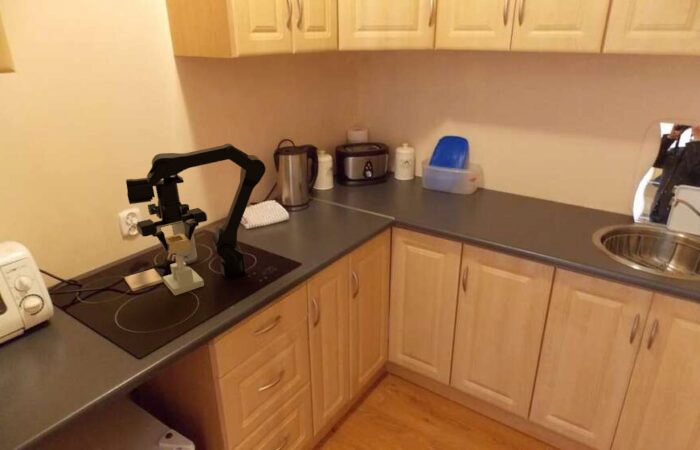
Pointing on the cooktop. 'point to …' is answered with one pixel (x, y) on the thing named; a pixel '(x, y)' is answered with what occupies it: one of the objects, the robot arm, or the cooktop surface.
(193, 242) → the travel mug
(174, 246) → the collar
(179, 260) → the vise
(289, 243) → the cooktop surface
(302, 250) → the cooktop surface
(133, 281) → the pad
